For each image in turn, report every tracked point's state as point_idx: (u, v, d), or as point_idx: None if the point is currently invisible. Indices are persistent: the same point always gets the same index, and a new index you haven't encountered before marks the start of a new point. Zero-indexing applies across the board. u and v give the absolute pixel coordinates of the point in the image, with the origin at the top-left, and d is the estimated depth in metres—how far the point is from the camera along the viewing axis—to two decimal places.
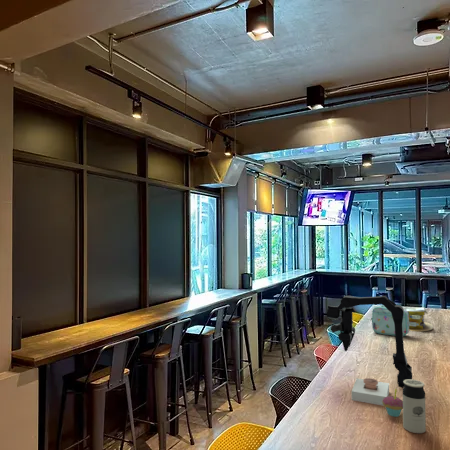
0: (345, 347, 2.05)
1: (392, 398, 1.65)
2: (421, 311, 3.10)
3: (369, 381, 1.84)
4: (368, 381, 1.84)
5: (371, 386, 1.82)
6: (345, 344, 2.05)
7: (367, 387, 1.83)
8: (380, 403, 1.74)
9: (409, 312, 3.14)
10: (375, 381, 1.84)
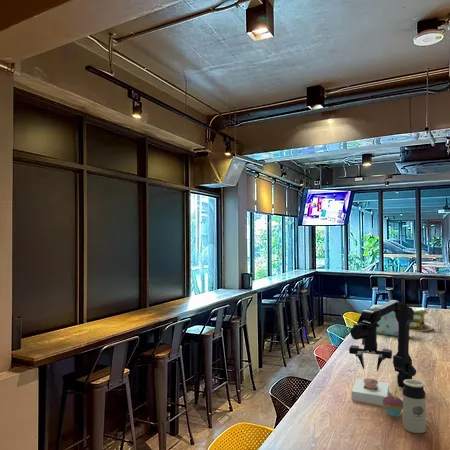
0: None
1: (392, 398, 1.65)
2: (421, 311, 3.10)
3: (369, 381, 1.84)
4: (368, 381, 1.84)
5: (371, 386, 1.82)
6: None
7: (367, 387, 1.83)
8: (380, 403, 1.74)
9: None
10: (375, 381, 1.84)
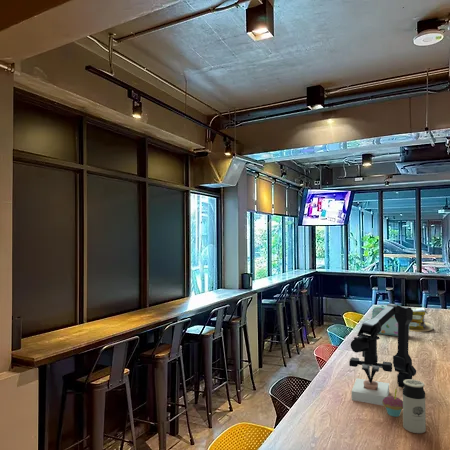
0: None
1: (392, 398, 1.65)
2: (421, 311, 3.09)
3: (369, 383, 1.84)
4: (368, 383, 1.84)
5: (371, 388, 1.82)
6: None
7: None
8: (380, 403, 1.74)
9: None
10: (375, 383, 1.84)
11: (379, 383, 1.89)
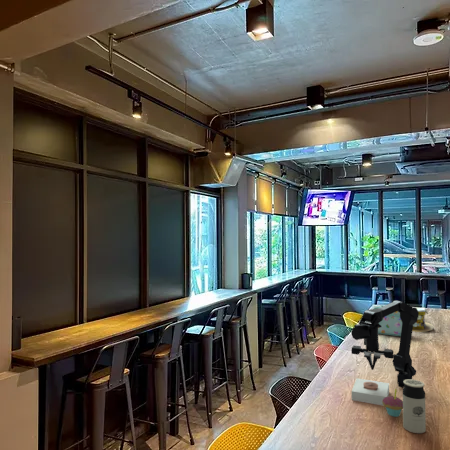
0: None
1: (392, 398, 1.65)
2: (422, 311, 3.09)
3: (369, 384, 1.84)
4: (368, 385, 1.84)
5: None
6: None
7: None
8: (380, 403, 1.74)
9: None
10: (375, 385, 1.84)
11: (379, 383, 1.89)
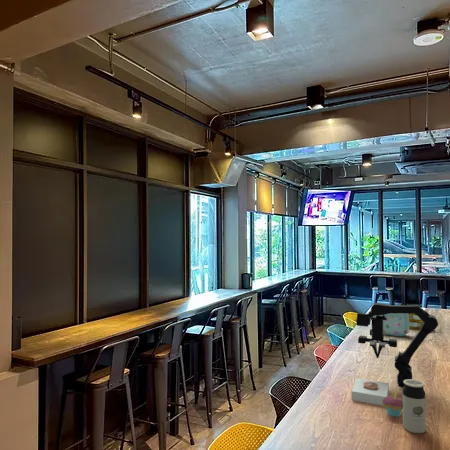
0: None
1: (392, 398, 1.65)
2: None
3: (369, 384, 1.84)
4: (368, 385, 1.84)
5: None
6: None
7: None
8: (380, 403, 1.74)
9: None
10: (375, 385, 1.84)
11: (379, 383, 1.89)
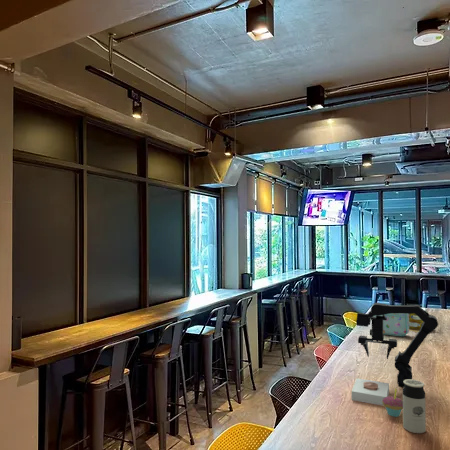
0: None
1: (392, 398, 1.65)
2: None
3: (369, 384, 1.84)
4: (368, 385, 1.84)
5: None
6: None
7: None
8: (380, 403, 1.74)
9: None
10: (375, 385, 1.84)
11: (379, 383, 1.89)
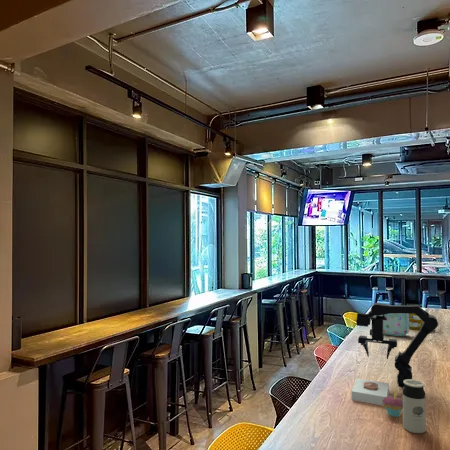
0: None
1: (392, 398, 1.65)
2: None
3: (369, 384, 1.84)
4: (368, 385, 1.84)
5: None
6: None
7: None
8: (380, 403, 1.74)
9: None
10: (375, 385, 1.84)
11: (379, 383, 1.89)
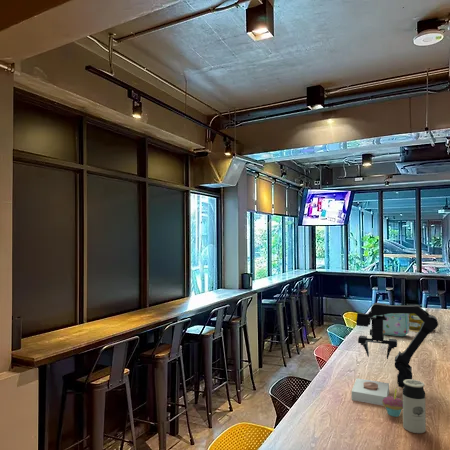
0: None
1: (392, 398, 1.65)
2: None
3: (369, 384, 1.84)
4: (368, 385, 1.84)
5: None
6: None
7: None
8: (380, 403, 1.74)
9: None
10: (375, 385, 1.84)
11: (379, 383, 1.89)
